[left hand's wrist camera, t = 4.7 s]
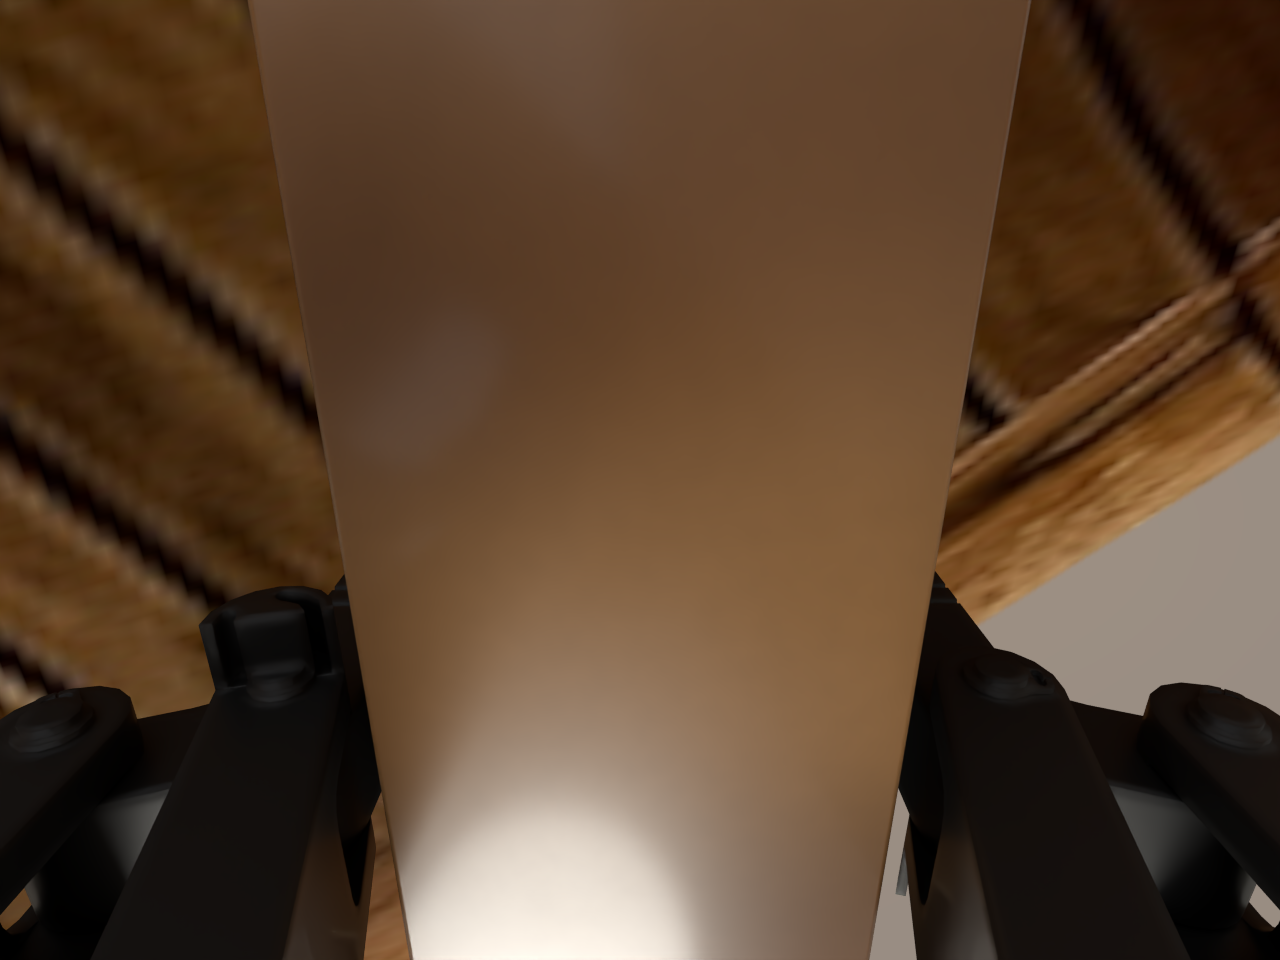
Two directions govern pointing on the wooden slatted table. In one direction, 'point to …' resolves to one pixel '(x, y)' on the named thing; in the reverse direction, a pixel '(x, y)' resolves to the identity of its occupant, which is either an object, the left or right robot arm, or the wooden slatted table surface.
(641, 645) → the bar
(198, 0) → the wooden slatted table surface
